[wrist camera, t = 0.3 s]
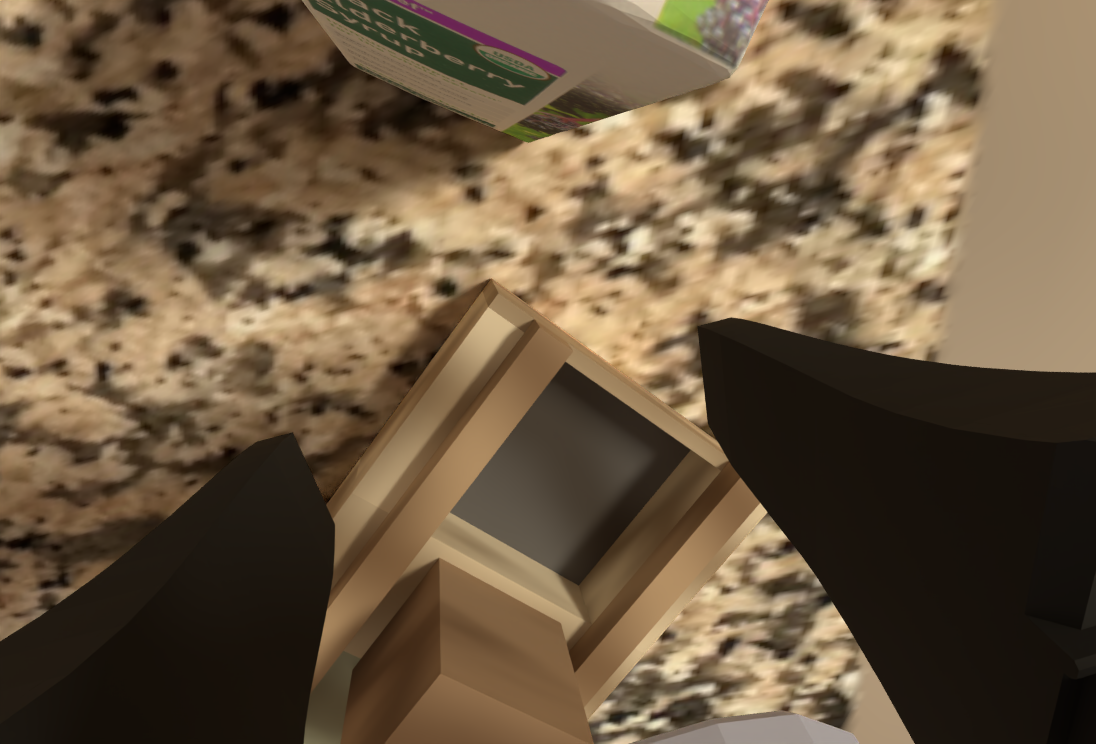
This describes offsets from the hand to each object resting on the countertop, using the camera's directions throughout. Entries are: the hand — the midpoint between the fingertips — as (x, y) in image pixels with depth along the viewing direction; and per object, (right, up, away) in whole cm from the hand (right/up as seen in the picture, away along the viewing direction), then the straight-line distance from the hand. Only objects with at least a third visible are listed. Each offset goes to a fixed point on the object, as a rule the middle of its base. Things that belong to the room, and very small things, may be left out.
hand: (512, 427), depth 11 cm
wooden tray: (-2, -6, +13) cm, 14 cm away
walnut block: (-2, -8, +10) cm, 14 cm away
